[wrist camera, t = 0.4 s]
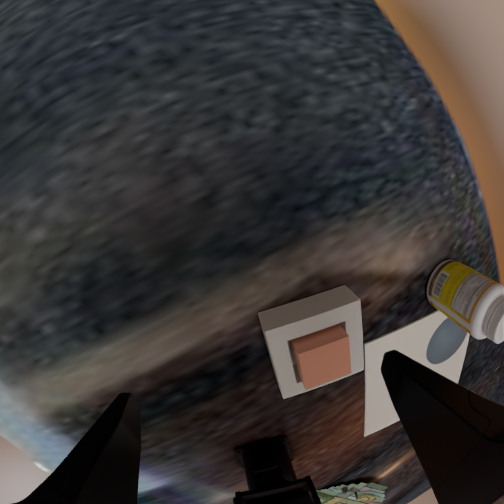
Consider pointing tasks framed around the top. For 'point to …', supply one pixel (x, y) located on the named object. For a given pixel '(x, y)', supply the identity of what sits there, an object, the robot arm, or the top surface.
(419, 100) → the top surface
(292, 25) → the top surface
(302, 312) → the button housing
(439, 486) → the robot arm
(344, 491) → the city model
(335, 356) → the button
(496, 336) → the supplement bottle
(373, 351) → the drawing paper
